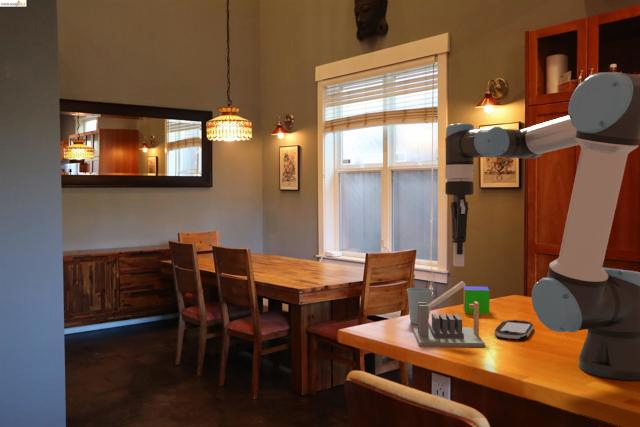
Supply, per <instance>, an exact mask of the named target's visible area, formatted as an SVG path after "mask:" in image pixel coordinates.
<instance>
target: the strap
mask: <svg viewBox="0 0 640 427" xmlns="http://www.w3.org/2000/svg"><path fill="white" fill-rule="evenodd" d="M464 286H467V284H466V283H465V281H463V280H461V281H460V282H458V283H457V284H455V285H454V286H452V287H451V288H449V289H448V290H446V291H445V292H443V293H442V294H441V295H440V296H438V297H436V298H435V299H433V300H431V303H429V304H428V306H429V310H432V309H433V308H435V307H436V306H438V305H439V304H441V303H442V302H444V301H445V300H447V299H448V298H450V297H451V296H452V295H454V294H455V293H457V292H458V291H460V290H461V289H464Z"/></svg>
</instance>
